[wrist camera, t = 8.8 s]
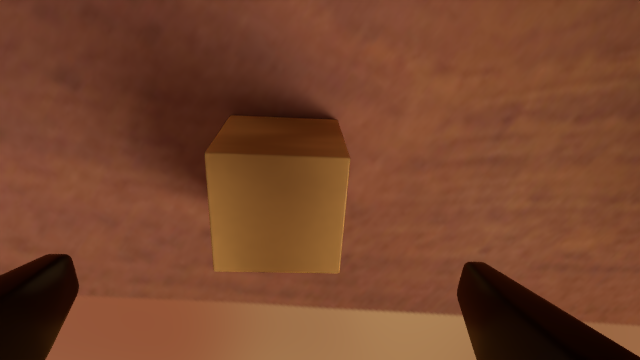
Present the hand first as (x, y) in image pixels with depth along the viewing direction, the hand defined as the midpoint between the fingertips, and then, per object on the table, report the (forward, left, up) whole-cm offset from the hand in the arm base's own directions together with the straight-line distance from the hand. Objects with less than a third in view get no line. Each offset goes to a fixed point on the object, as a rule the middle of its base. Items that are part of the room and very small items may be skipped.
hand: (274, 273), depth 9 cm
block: (0, 0, -7) cm, 7 cm away
